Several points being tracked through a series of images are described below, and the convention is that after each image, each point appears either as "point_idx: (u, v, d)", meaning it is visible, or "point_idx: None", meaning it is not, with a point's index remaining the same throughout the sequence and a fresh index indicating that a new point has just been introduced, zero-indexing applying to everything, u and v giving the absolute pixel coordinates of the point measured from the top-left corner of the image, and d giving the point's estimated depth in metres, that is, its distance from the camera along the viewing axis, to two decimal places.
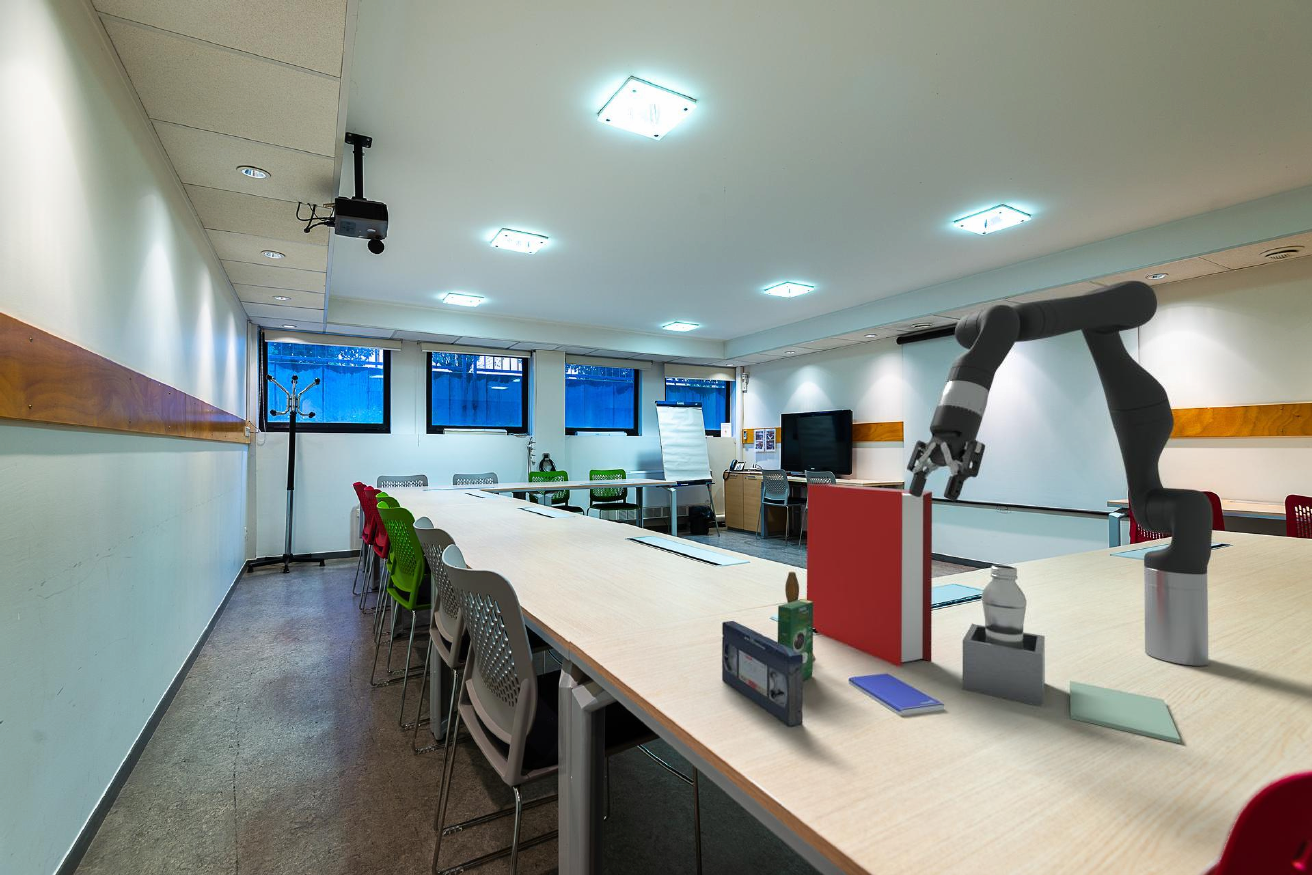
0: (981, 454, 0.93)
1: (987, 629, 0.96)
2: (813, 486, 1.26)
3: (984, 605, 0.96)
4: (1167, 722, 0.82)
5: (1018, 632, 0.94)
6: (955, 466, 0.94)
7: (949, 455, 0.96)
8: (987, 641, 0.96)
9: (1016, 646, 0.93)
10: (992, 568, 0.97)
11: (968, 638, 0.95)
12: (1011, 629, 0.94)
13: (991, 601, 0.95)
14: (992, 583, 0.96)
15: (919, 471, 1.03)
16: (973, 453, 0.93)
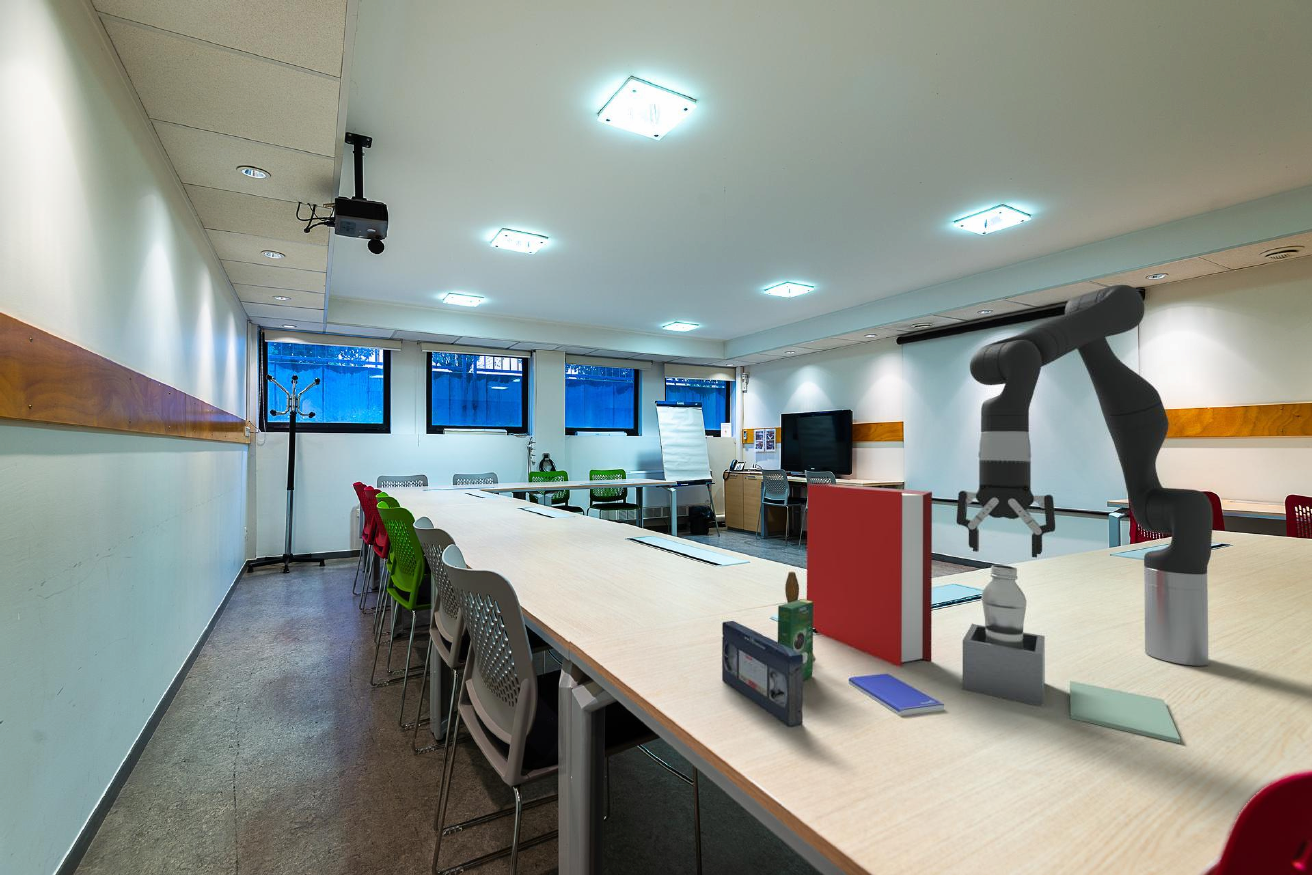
0: None
1: (987, 629, 0.96)
2: (813, 486, 1.26)
3: (984, 605, 0.96)
4: (1167, 722, 0.82)
5: (1018, 632, 0.94)
6: (1036, 524, 0.93)
7: (1024, 513, 0.94)
8: (987, 641, 0.96)
9: (1016, 646, 0.93)
10: (992, 568, 0.97)
11: (968, 638, 0.95)
12: (1011, 629, 0.94)
13: (991, 601, 0.95)
14: (992, 583, 0.96)
15: (976, 526, 0.98)
16: (1053, 510, 0.92)
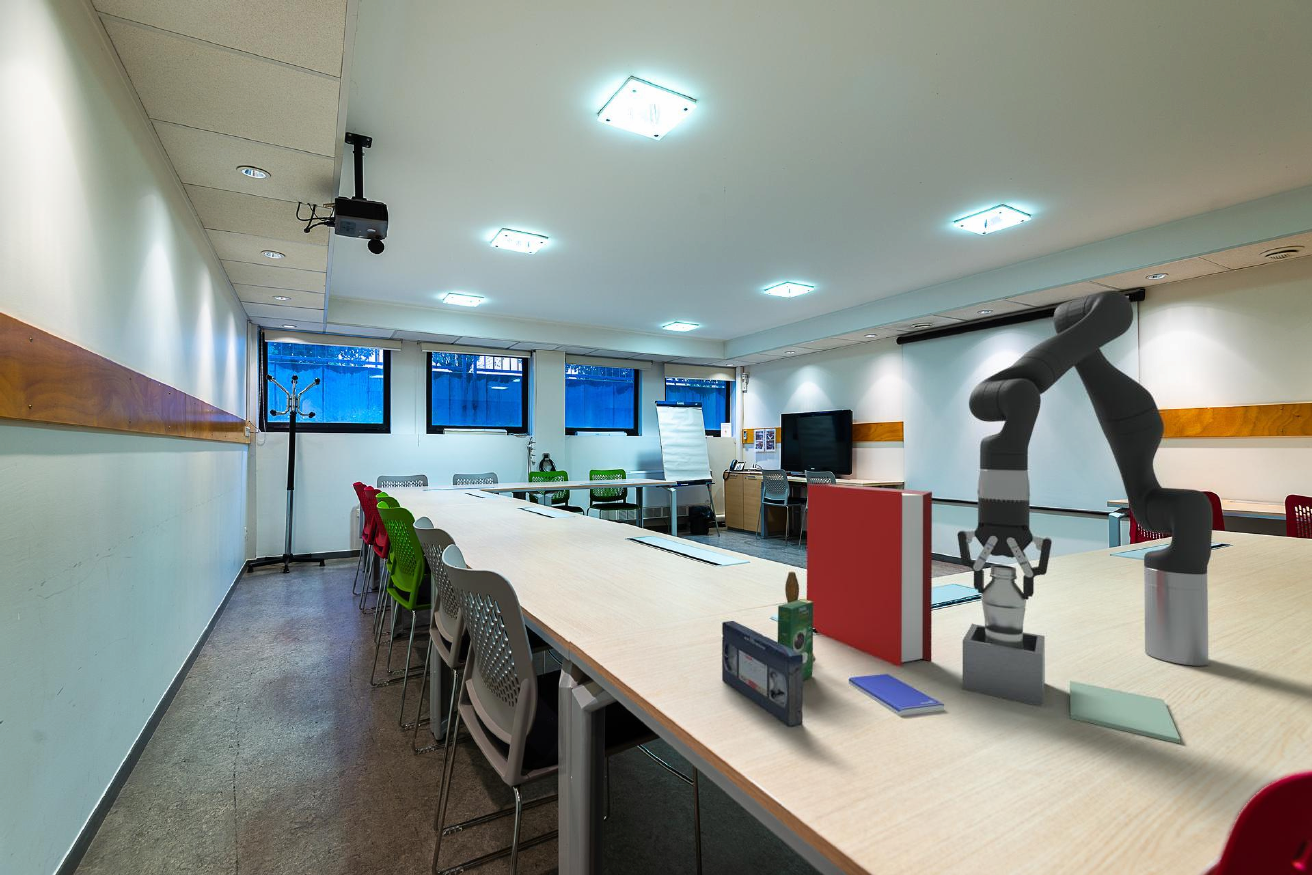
0: None
1: (987, 629, 0.96)
2: (813, 486, 1.26)
3: (984, 605, 0.96)
4: (1167, 722, 0.82)
5: (1018, 632, 0.94)
6: (1029, 567, 0.93)
7: (1020, 554, 0.94)
8: (987, 641, 0.96)
9: (1016, 646, 0.93)
10: (991, 568, 0.97)
11: (968, 638, 0.95)
12: (1011, 629, 0.94)
13: (991, 601, 0.95)
14: (991, 583, 0.96)
15: (982, 566, 0.98)
16: (1049, 554, 0.92)
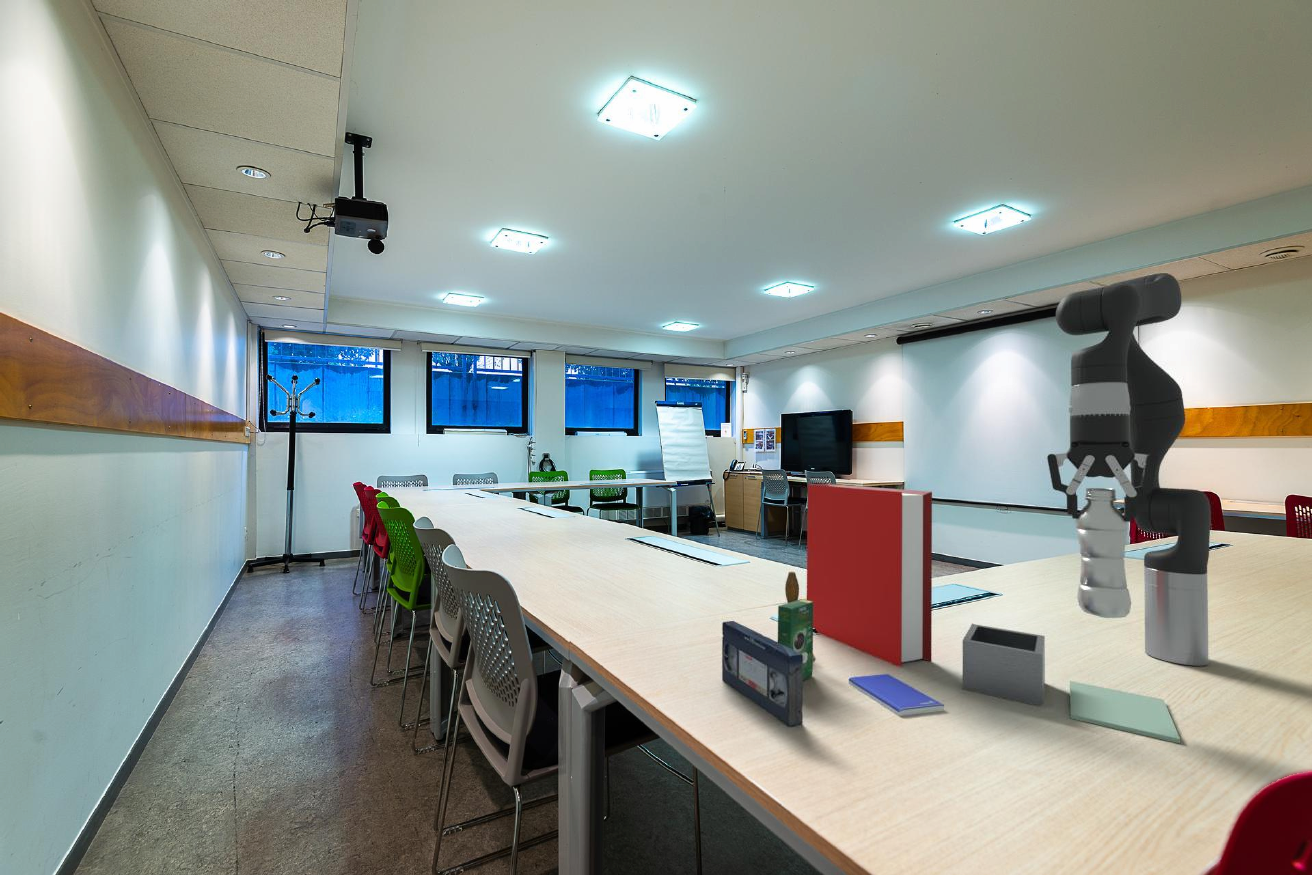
0: None
1: (1083, 556, 0.89)
2: (813, 486, 1.26)
3: (1079, 530, 0.90)
4: (1167, 722, 0.82)
5: (1120, 557, 0.87)
6: (1132, 486, 0.86)
7: (1121, 472, 0.87)
8: (1084, 569, 0.89)
9: (1118, 572, 0.86)
10: (1087, 491, 0.90)
11: (968, 638, 0.95)
12: (1112, 554, 0.87)
13: (1089, 525, 0.88)
14: (1088, 506, 0.89)
15: None
16: None
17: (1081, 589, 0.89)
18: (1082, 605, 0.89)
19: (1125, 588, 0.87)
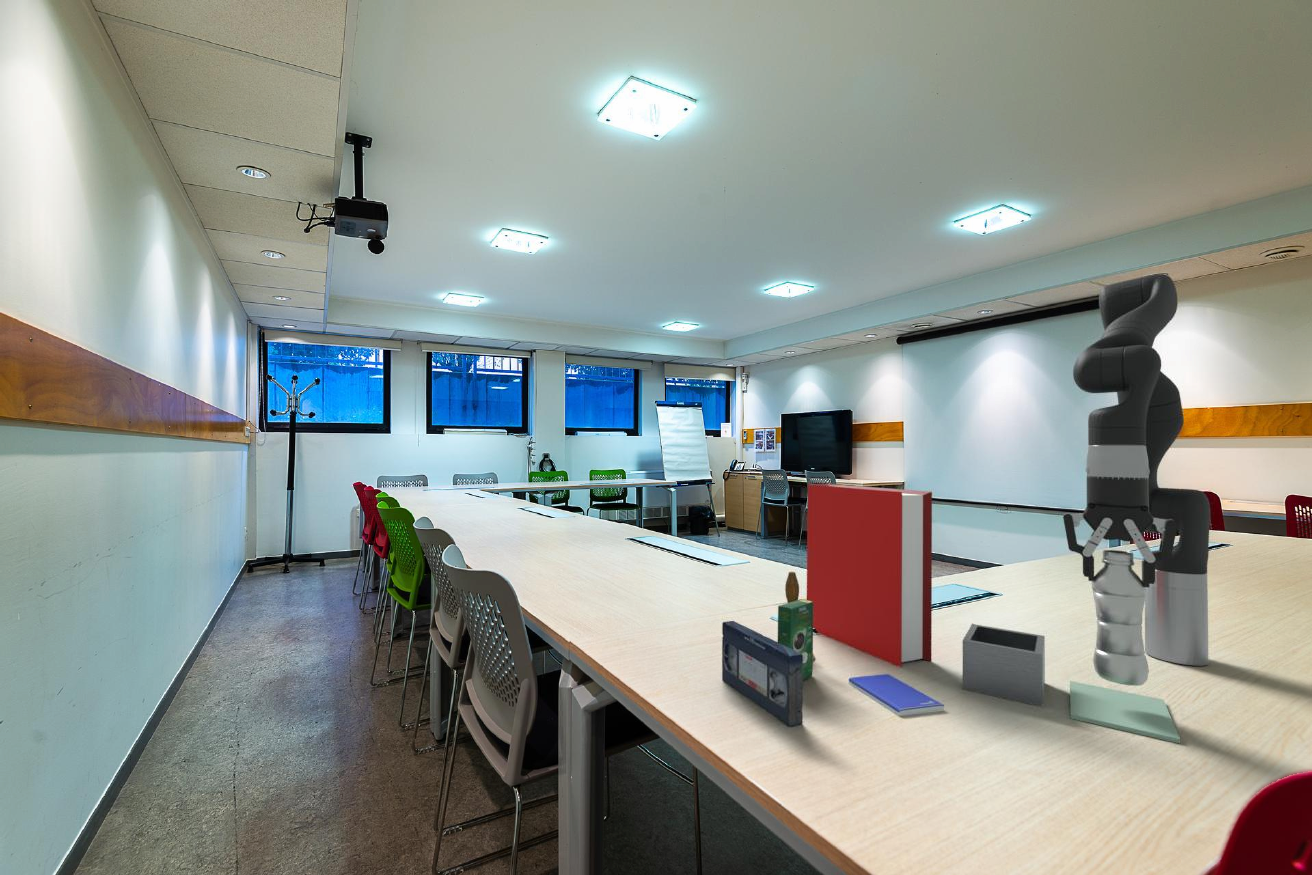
0: None
1: (1100, 620, 0.88)
2: (813, 486, 1.26)
3: (1096, 594, 0.88)
4: (1167, 722, 0.82)
5: (1138, 623, 0.85)
6: (1150, 551, 0.85)
7: (1140, 537, 0.85)
8: (1100, 633, 0.88)
9: (1136, 639, 0.85)
10: (1104, 553, 0.88)
11: (968, 638, 0.95)
12: (1130, 620, 0.85)
13: (1106, 590, 0.86)
14: (1105, 570, 0.88)
15: (1092, 552, 0.89)
16: None
17: (1097, 654, 0.88)
18: (1098, 670, 0.87)
19: (1143, 655, 0.85)
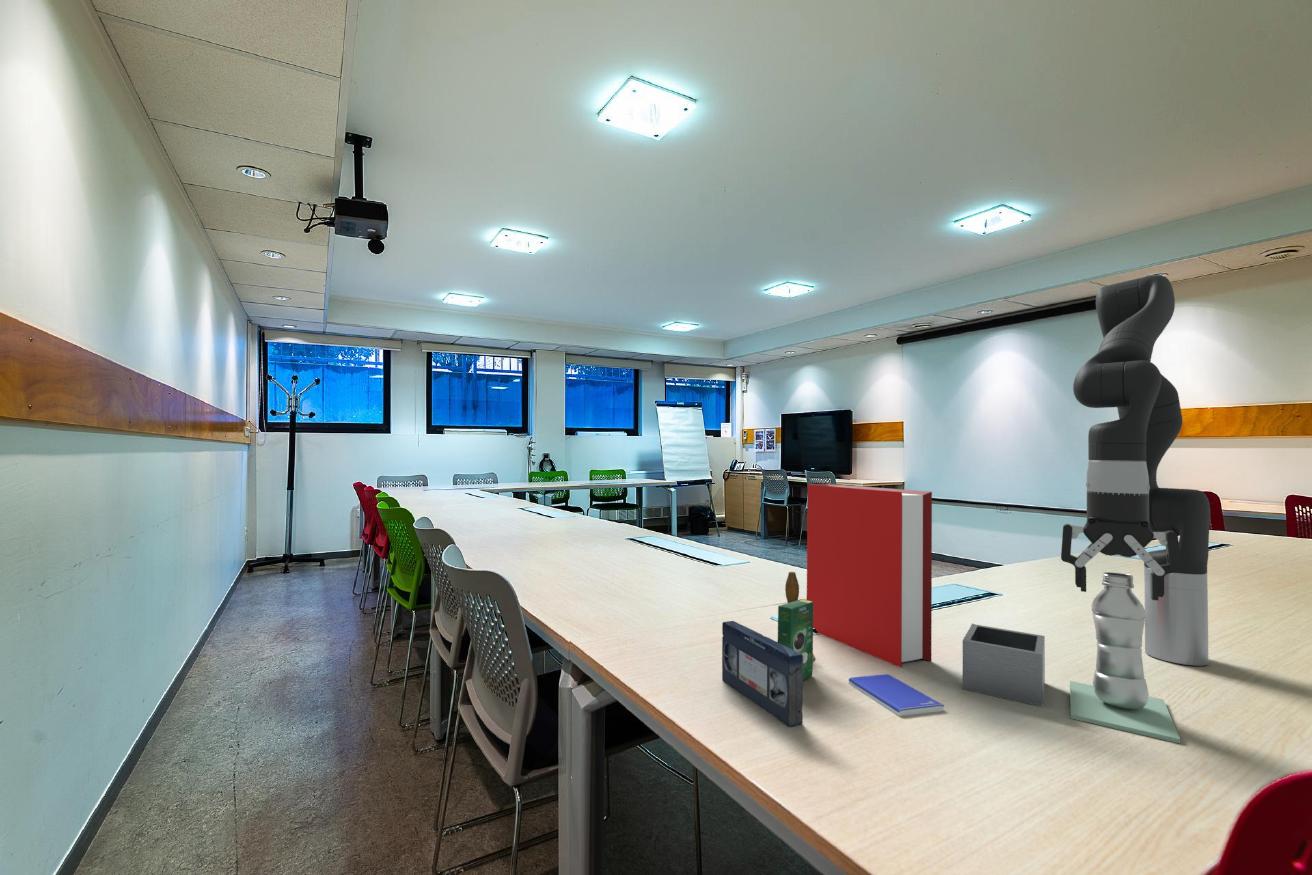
0: None
1: (1100, 643, 0.88)
2: (813, 486, 1.26)
3: (1096, 616, 0.88)
4: (1167, 722, 0.82)
5: (1138, 646, 0.85)
6: (1157, 564, 0.84)
7: (1143, 551, 0.85)
8: (1100, 656, 0.88)
9: (1136, 662, 0.85)
10: (1104, 575, 0.89)
11: (968, 638, 0.95)
12: (1130, 643, 0.85)
13: (1106, 612, 0.87)
14: (1105, 592, 0.88)
15: (1085, 563, 0.89)
16: None
17: (1097, 677, 0.88)
18: (1098, 693, 0.87)
19: (1142, 678, 0.85)
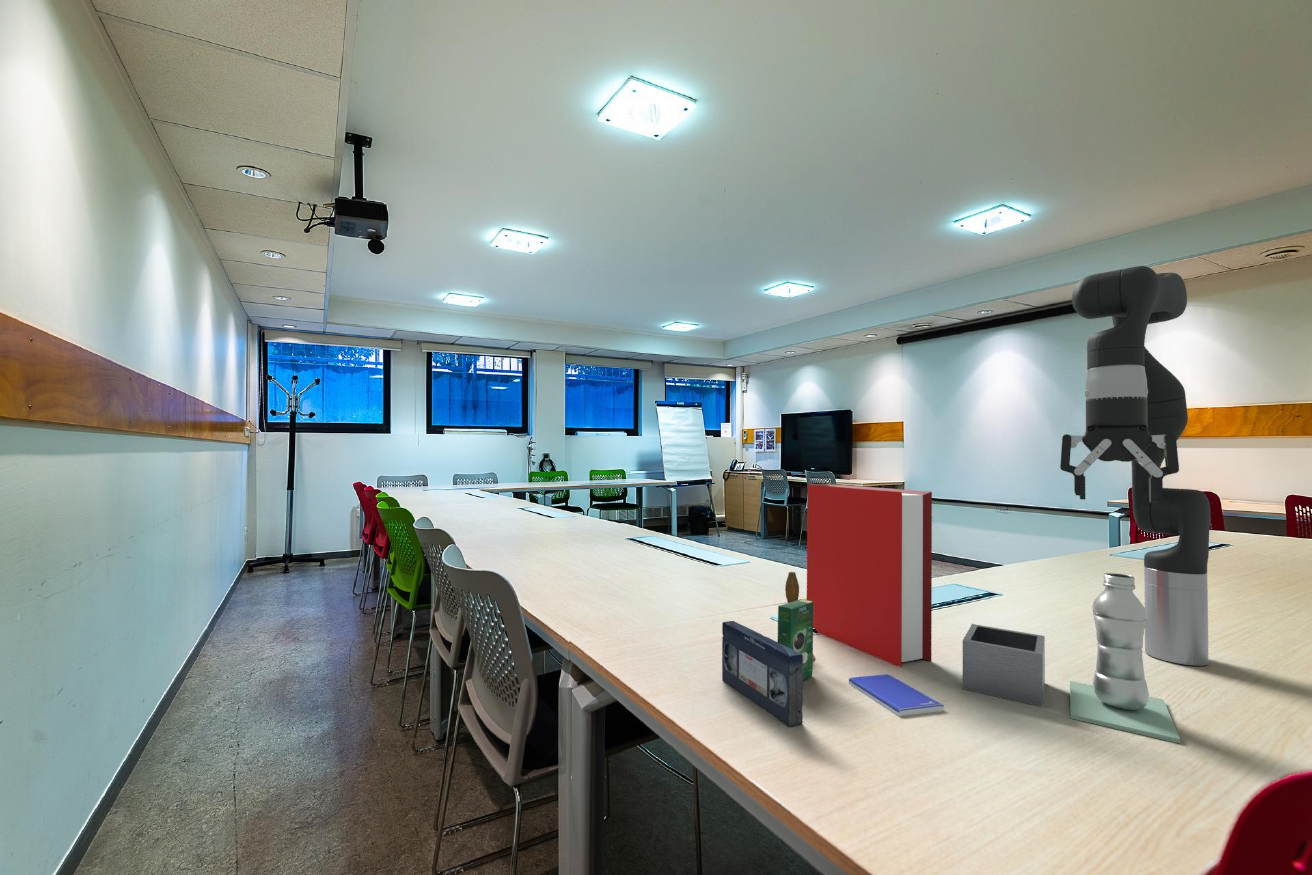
0: None
1: (1100, 644, 0.88)
2: (813, 486, 1.26)
3: (1097, 617, 0.88)
4: (1167, 722, 0.82)
5: (1138, 647, 0.85)
6: (1156, 466, 0.85)
7: (1142, 454, 0.85)
8: (1101, 657, 0.87)
9: (1136, 663, 0.85)
10: (1105, 577, 0.88)
11: (968, 638, 0.95)
12: (1130, 644, 0.85)
13: (1107, 613, 0.86)
14: (1106, 593, 0.88)
15: (1084, 471, 0.90)
16: (1176, 449, 0.84)
17: (1097, 678, 0.88)
18: (1098, 693, 0.87)
19: (1143, 680, 0.85)
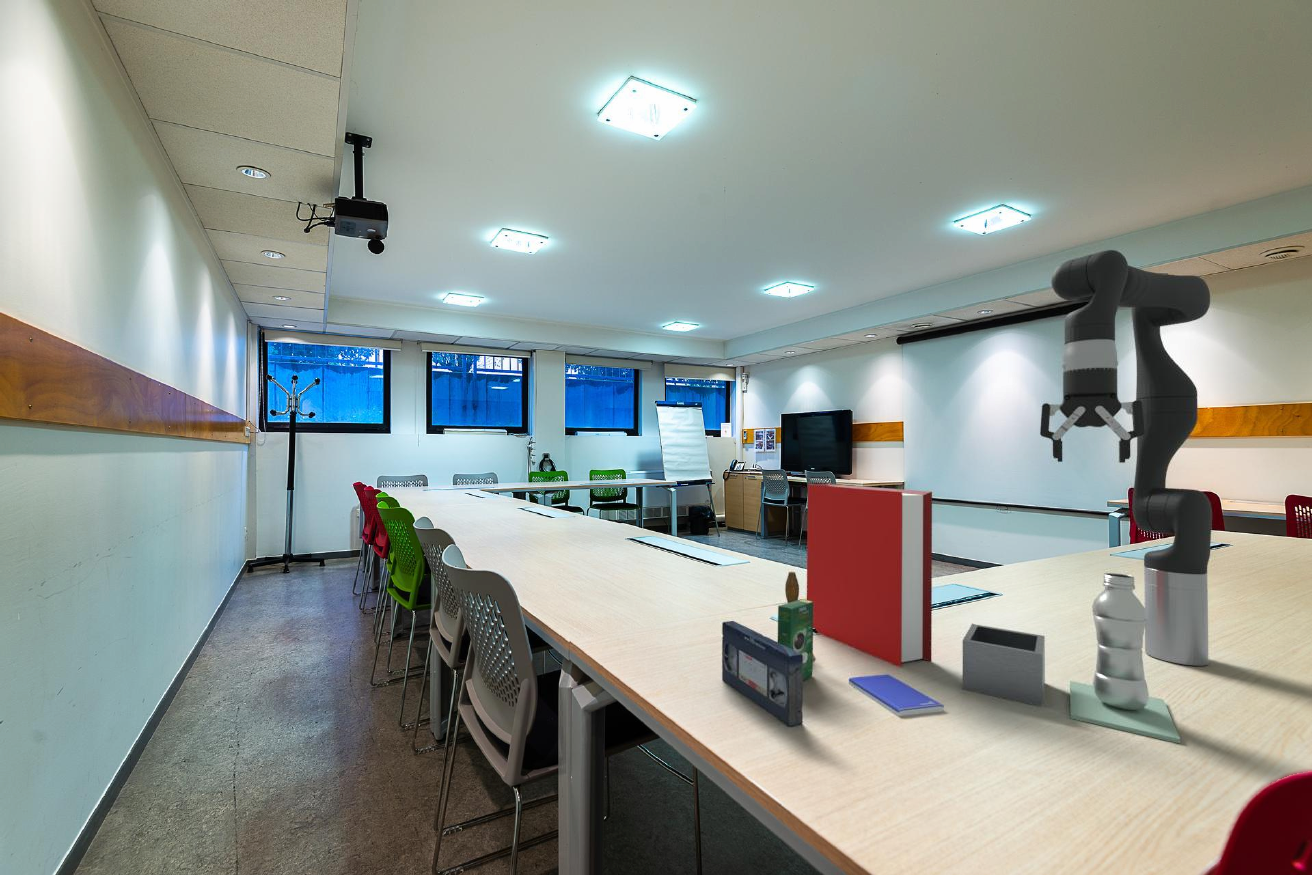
0: None
1: (1100, 644, 0.88)
2: (813, 486, 1.26)
3: (1097, 617, 0.88)
4: (1167, 722, 0.82)
5: (1138, 648, 0.85)
6: (1124, 430, 0.95)
7: (1112, 419, 0.95)
8: (1101, 657, 0.87)
9: (1136, 663, 0.85)
10: (1105, 577, 0.88)
11: (968, 638, 0.95)
12: (1130, 644, 0.85)
13: (1107, 613, 0.86)
14: (1106, 593, 0.88)
15: (1061, 436, 1.00)
16: (1142, 415, 0.94)
17: (1097, 678, 0.88)
18: (1098, 693, 0.87)
19: (1143, 680, 0.85)
